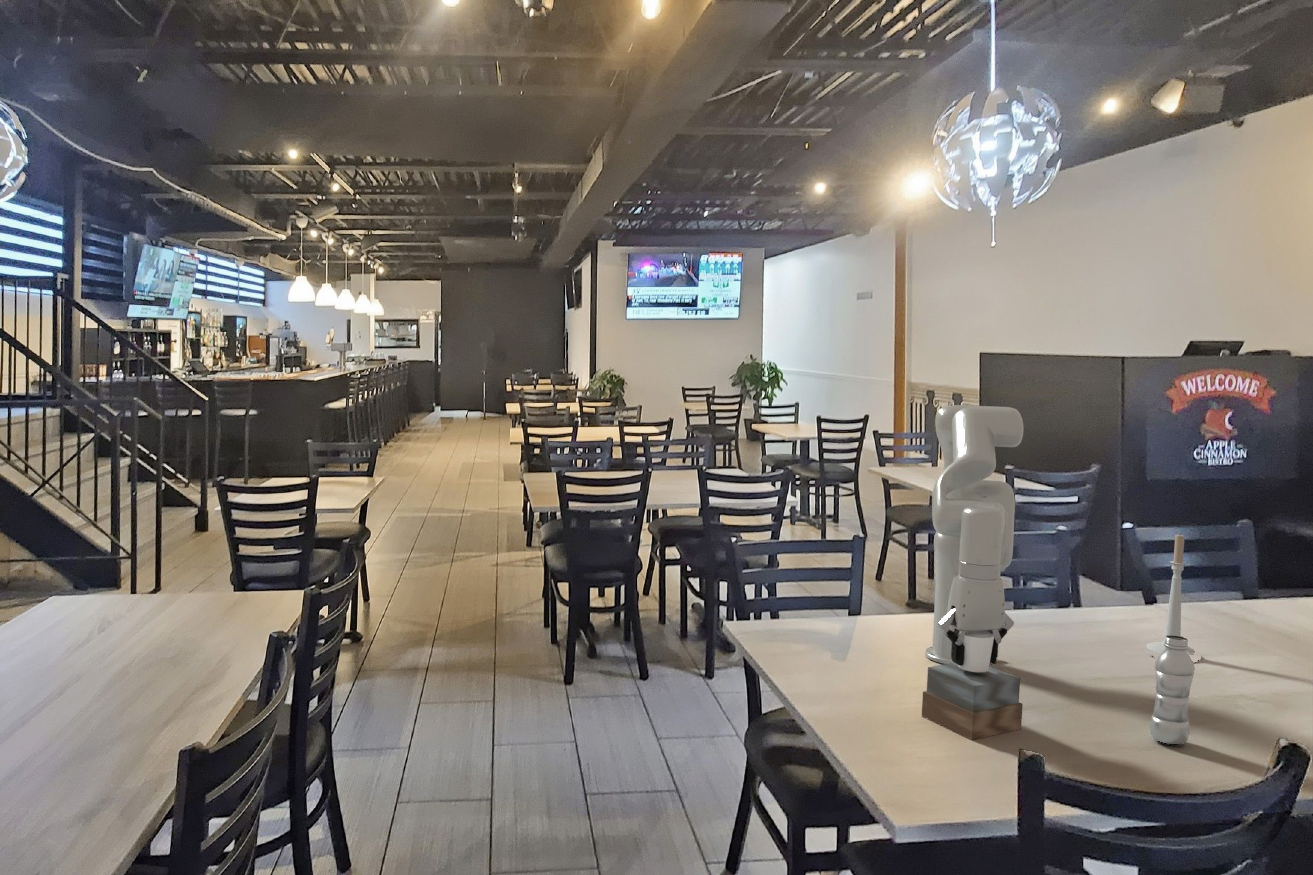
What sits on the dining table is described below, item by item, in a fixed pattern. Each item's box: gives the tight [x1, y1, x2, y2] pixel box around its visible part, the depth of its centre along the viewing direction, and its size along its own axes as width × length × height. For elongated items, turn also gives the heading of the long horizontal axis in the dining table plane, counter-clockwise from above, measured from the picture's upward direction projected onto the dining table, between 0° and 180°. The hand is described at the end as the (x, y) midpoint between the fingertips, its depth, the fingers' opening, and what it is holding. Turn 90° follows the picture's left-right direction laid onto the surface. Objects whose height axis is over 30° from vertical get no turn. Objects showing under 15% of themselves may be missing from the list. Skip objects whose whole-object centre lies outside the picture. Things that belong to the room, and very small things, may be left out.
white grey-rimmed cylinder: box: [958, 630, 994, 672], centre depth 188 cm, size 7×7×7 cm
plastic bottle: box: [1149, 635, 1196, 745], centre depth 181 cm, size 6×7×20 cm
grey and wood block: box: [921, 663, 1024, 741], centre depth 189 cm, size 13×13×10 cm
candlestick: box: [1145, 534, 1196, 655], centre depth 237 cm, size 13×13×30 cm
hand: (974, 661), depth 188 cm, fingers closed on white grey-rimmed cylinder, 6 cm apart
